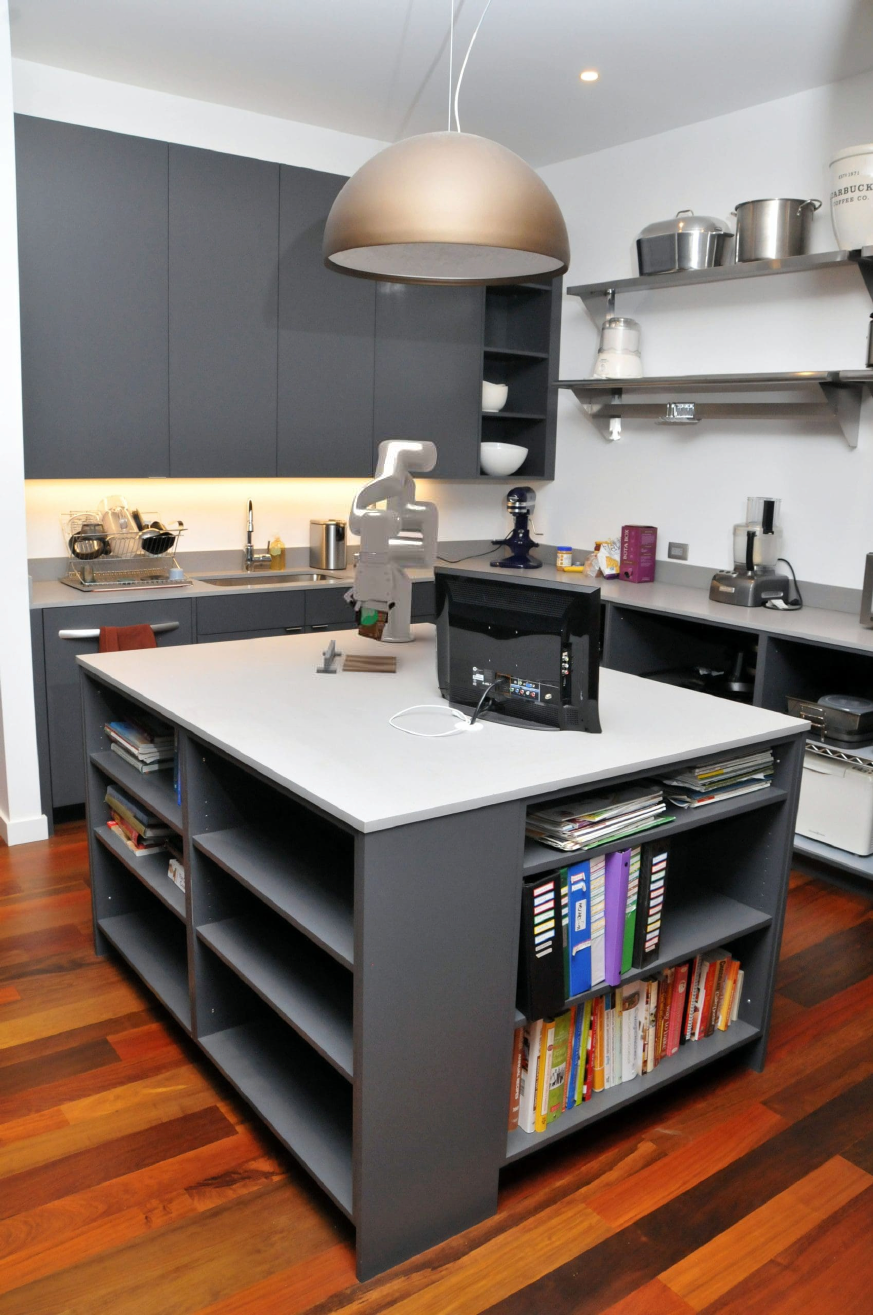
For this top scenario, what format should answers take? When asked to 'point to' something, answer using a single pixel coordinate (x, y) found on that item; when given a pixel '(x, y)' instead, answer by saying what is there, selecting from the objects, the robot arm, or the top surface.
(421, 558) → the robot arm
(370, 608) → the food container
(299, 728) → the top surface
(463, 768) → the top surface
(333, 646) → the grey footed rail
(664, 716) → the top surface
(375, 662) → the walnut board
